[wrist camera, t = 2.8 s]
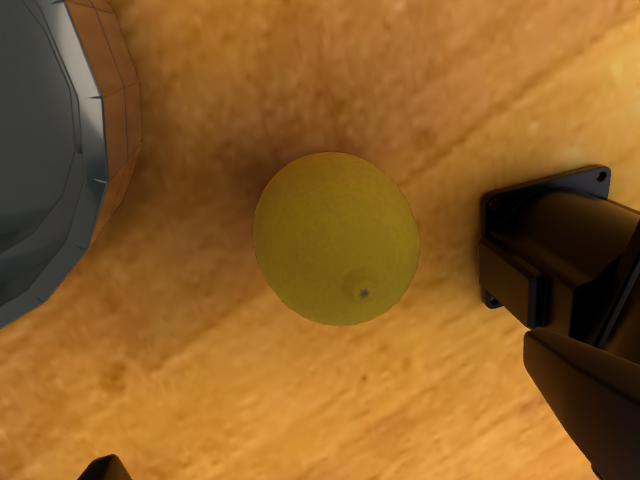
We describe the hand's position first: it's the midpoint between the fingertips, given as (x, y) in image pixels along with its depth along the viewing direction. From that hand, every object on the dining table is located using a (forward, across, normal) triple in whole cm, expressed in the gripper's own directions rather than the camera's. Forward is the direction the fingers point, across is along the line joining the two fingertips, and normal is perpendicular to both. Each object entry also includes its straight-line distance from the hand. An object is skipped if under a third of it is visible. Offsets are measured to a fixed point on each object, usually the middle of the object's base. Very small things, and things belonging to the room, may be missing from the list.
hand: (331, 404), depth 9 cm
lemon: (+11, -2, -1) cm, 11 cm away
